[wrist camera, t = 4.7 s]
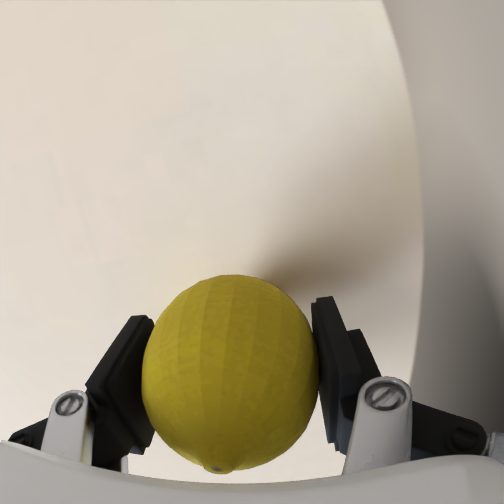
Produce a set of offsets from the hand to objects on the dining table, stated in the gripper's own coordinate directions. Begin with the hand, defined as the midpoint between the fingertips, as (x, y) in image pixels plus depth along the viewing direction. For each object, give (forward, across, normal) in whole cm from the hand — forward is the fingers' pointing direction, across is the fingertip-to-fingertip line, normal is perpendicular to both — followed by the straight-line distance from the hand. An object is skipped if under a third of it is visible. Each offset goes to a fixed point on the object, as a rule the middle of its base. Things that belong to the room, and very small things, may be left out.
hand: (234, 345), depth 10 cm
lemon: (+3, 0, 0) cm, 3 cm away
